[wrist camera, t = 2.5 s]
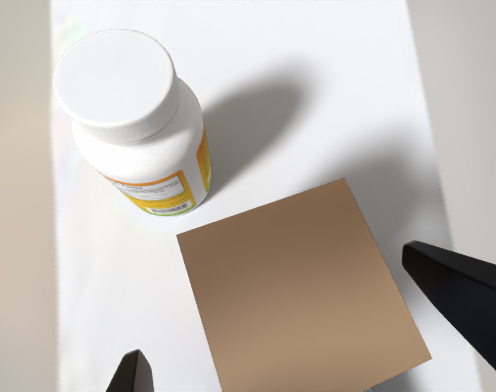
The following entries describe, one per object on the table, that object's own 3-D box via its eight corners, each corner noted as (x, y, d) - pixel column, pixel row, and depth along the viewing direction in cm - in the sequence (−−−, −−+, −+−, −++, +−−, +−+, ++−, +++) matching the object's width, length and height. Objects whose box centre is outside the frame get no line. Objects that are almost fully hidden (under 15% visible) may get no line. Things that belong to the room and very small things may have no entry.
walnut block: (308, 316, 17) (431, 358, 6) (234, 347, 16) (239, 448, 6) (279, 242, 18) (344, 177, 8) (209, 268, 17) (176, 234, 7)
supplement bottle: (168, 126, 20) (114, -12, 11) (229, 172, 19) (227, 65, 10) (109, 184, 19) (-9, 80, 9) (173, 236, 18) (112, 179, 9)
